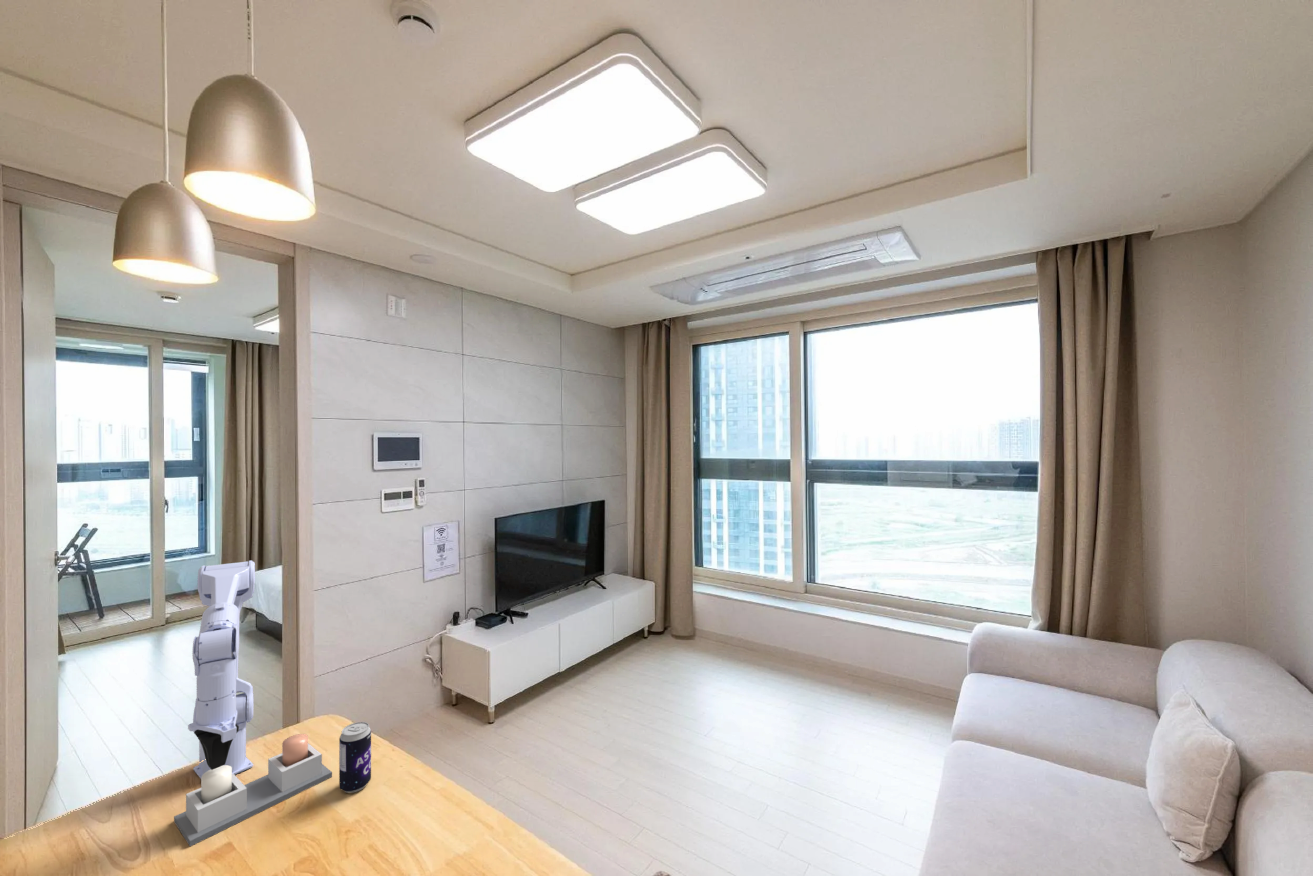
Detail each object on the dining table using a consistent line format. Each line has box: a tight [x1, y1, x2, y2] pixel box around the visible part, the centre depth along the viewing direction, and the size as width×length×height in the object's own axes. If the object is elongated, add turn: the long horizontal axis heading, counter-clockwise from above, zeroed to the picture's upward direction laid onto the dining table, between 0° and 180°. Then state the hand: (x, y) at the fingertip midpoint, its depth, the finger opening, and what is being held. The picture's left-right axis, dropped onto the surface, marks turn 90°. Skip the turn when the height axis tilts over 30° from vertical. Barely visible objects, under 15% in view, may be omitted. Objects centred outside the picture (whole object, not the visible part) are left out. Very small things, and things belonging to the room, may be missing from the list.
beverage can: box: [338, 721, 372, 794], centre depth 107 cm, size 6×6×12 cm
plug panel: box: [173, 742, 333, 847], centre depth 104 cm, size 10×23×5 cm, turn 145°
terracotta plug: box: [281, 733, 309, 767], centre depth 109 cm, size 4×4×4 cm
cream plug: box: [200, 765, 232, 803], centre depth 98 cm, size 4×4×4 cm
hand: (216, 765), depth 98 cm, fingers closed
